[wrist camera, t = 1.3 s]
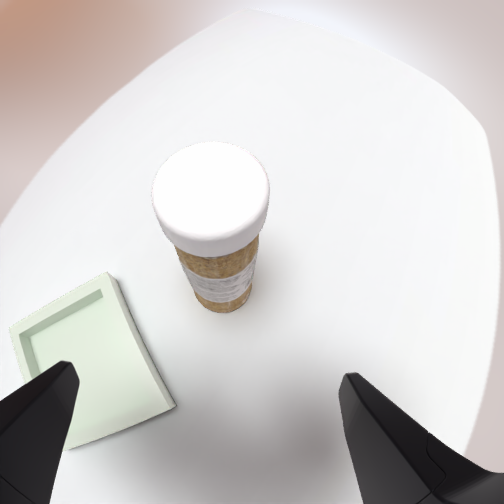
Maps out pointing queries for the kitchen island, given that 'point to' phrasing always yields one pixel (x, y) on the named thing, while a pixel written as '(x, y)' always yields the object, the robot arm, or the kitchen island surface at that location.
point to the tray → (94, 359)
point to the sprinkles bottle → (213, 218)
